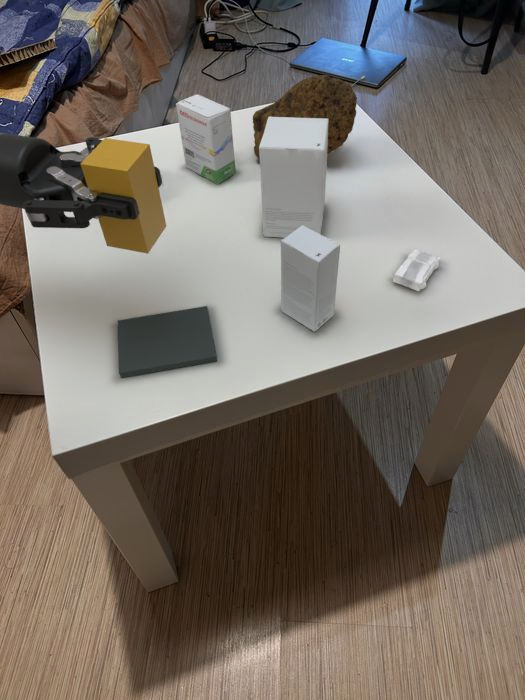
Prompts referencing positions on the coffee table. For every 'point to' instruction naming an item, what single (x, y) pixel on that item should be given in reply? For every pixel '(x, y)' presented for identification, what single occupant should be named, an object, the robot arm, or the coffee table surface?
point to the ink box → (207, 137)
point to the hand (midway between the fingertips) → (147, 193)
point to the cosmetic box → (309, 277)
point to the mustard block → (127, 192)
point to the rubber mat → (165, 341)
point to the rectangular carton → (293, 174)
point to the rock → (313, 108)
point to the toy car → (416, 270)
